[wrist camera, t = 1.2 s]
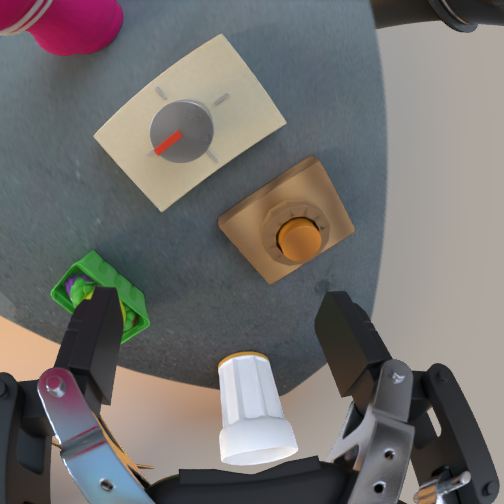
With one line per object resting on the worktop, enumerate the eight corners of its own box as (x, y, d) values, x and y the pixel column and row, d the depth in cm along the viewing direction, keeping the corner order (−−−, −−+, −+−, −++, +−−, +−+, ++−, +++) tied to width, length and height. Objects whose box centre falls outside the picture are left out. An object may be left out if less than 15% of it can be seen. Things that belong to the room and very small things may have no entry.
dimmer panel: (220, 39, 19) (221, 32, 16) (279, 119, 24) (287, 123, 22) (103, 131, 22) (92, 136, 19) (165, 200, 27) (161, 213, 25)
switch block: (311, 154, 27) (326, 164, 23) (347, 222, 32) (362, 239, 29) (217, 217, 29) (219, 236, 26) (266, 274, 34) (273, 295, 31)
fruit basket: (62, 270, 29) (29, 334, 20) (97, 230, 27) (59, 296, 18) (123, 319, 35) (110, 386, 26) (164, 289, 33) (156, 363, 24)
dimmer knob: (192, 88, 19) (187, 87, 15) (223, 128, 21) (227, 138, 17) (150, 121, 20) (135, 130, 15) (181, 158, 22) (175, 177, 18)
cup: (246, 386, 50) (260, 466, 35) (198, 370, 44) (205, 462, 30) (288, 358, 46) (314, 446, 32) (240, 338, 41) (259, 444, 26)
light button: (304, 210, 26) (310, 218, 25) (321, 238, 28) (327, 246, 27) (270, 232, 27) (274, 241, 26) (289, 258, 29) (294, 268, 28)
